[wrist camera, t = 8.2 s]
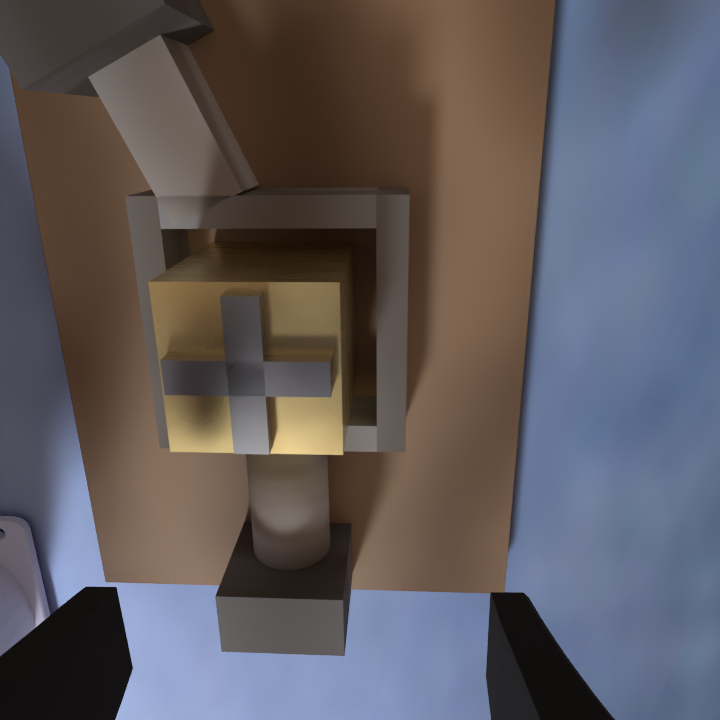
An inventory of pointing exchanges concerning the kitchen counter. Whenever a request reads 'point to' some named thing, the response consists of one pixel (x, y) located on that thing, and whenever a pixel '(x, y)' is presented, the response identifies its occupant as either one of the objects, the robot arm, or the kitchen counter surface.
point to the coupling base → (295, 223)
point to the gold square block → (258, 347)
